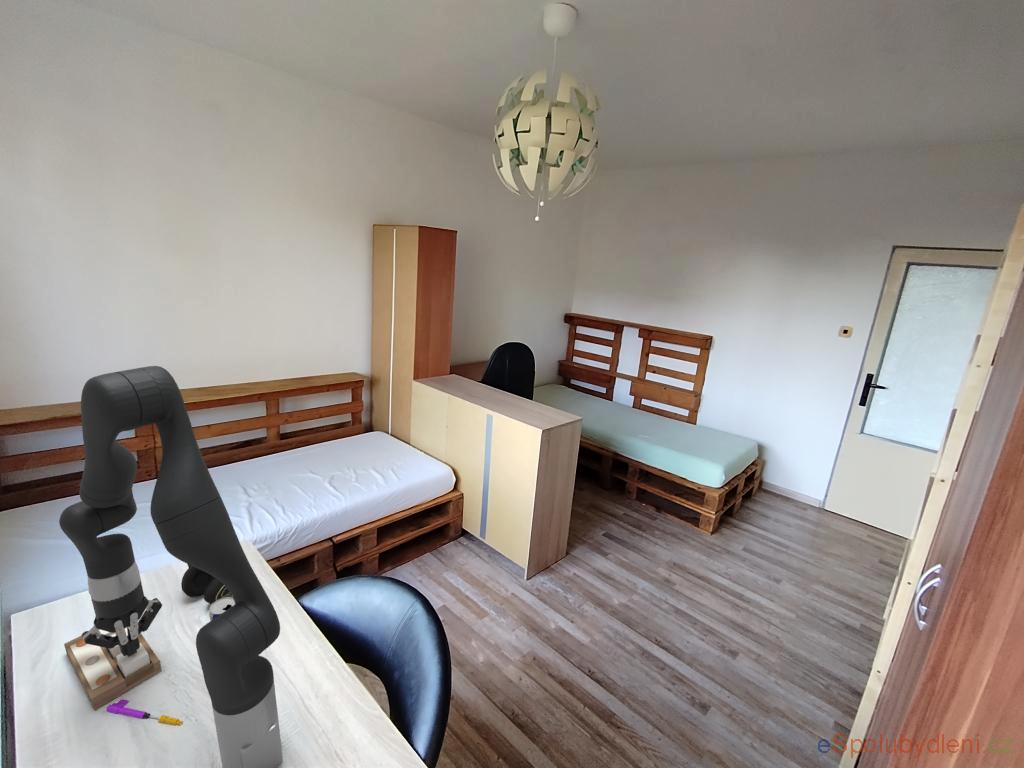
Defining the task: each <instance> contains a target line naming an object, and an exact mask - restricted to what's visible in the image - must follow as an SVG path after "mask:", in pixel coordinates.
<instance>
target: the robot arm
mask: <svg viewBox="0 0 1024 768" xmlns="http://www.w3.org/2000/svg"><path fill="white" fill-rule="evenodd" d="M80 396H81V398H80V415H81V431H82V432H81V433H82V441H83V449H84V450H83V451H84V467H83V472H82V476H81V481H80V486H79V498H80V501H78V502H76V503H73V504H71V505H69V506H67V507H66V508H65V509H64V510H63V511H62V512H61V514H60V517H59V520H58V523H59V528H60V529H61V531H62V532H63V533H64V534H65V535H66V537H67V538H68V539H69V540H70V541H71V542H72V544H73V545H74V546H75V548H77V550H78V552H79V554H80V556H81V557H82V560H83V563H84V567H85V571H86V575H87V586H88V594H89V595H90V599H91V602H92V603H91V604H92V606H93V612H94V614H95V617H94V620H93V626H92V627H91V628H90V629H89V630H86V631H84V632H83V633H82V634H81V635H82V638H83V640H84V641H85V643H86V644H90V645H95V646H100V647H105V648H110V649H111V648H114V647H115V646H116V645H119V647H120V651H121V653H122V654H123V656H126V655H127V656H128V657H129V656H131V655H133V654H135V653H137V649H139V647H140V644H139V640H138V635H139V634H140V633H141V634H142V633H145V632H147V630H149V628H150V626H151V625H152V623H153V622H154V620H155V618H156V617H157V615H158V613H159V611H161V608H162V607H163V603H162V602H161V601H160V600H159V598H157V597H154V598H153V599H148V597H146V596H145V594H144V589H143V584H142V580H141V574H140V569H139V566H138V564H137V561H136V559H135V554H134V550H133V544H132V540H131V539H130V537H129V536H128V535H126V534H124V533H111V534H107V535H102V534H104V533H106V532H109V531H111V530H113V529H116V528H117V527H120V526H122V525H124V524H127V523H128V522H129V521H130V520H132V519H133V518H134V516H135V515H136V513H137V510H138V507H137V503H136V500H135V498H134V494H133V493H134V492H133V486H134V483H135V480H136V477H137V472H138V463H137V459H136V457H135V456H134V454H133V453H132V452H131V451H130V449H128V448H127V447H126V446H124V445H123V444H121V442H119V441H117V437H118V436H119V434H120V433H122V432H129V431H133V430H137V429H140V428H144V427H147V426H151V425H154V424H155V426H156V428H157V431H158V434H159V435H158V436H159V438H160V443H161V448H162V449H161V450H162V452H161V453H162V454H161V462H160V467H159V470H158V474H157V477H156V480H155V485H154V488H153V492H152V496H151V501H150V517H151V520H152V522H153V524H154V527H155V529H156V531H157V533H158V535H159V537H160V539H161V542H162V544H163V546H164V548H165V549H166V551H167V552H168V553H169V554H170V555H171V556H173V557H175V558H176V559H177V560H179V561H180V562H183V563H185V564H189V565H191V566H193V567H195V568H198V569H200V570H202V571H204V572H206V573H208V574H210V575H212V576H214V577H215V578H217V579H218V580H220V581H221V582H222V583H223V584H224V585H225V586H226V587H227V589H228V590H229V592H230V596H231V597H232V598H233V599H234V601H235V605H234V606H232V607H231V608H229V609H228V610H226V611H225V612H223V613H222V614H220V615H219V616H217V617H216V618H215V619H213V620H212V621H210V620H209V621H208V622H207V623H206V624H205V625H203V626H202V627H200V629H199V630H198V632H197V634H196V639H195V647H196V652H197V653H196V654H197V656H198V660H199V664H200V666H201V671H202V675H203V680H204V684H205V686H206V690H207V692H208V695H209V698H210V701H211V706H212V707H211V708H212V713H213V718H214V725H215V732H216V737H217V743H218V748H219V749H218V750H219V755H220V761H221V765H222V768H277V767H278V766H279V765H280V764H281V763H283V761H284V760H283V752H282V751H283V750H282V749H283V748H282V740H281V731H280V722H279V721H280V720H279V713H278V705H277V696H276V685H275V676H274V669H273V665H272V664H271V662H270V660H269V659H268V658H266V657H264V656H261V654H262V653H263V652H264V651H266V650H267V649H268V648H269V647H270V646H271V645H273V644H274V642H276V640H277V639H278V638H279V636H280V633H281V623H280V620H279V616H278V614H277V612H276V611H277V610H275V607H274V605H273V603H272V601H271V600H270V597H269V596H268V594H267V591H266V590H265V589H264V587H263V585H262V584H261V582H260V580H259V578H258V577H257V574H256V573H255V570H254V569H253V567H252V566H251V564H250V562H249V560H248V558H247V556H246V553H245V551H244V549H243V546H242V545H241V541H240V539H239V538H238V536H237V532H236V531H235V528H234V525H233V523H232V520H231V517H230V515H229V511H228V510H227V508H226V505H225V503H224V501H223V498H222V496H221V494H220V492H219V490H218V488H217V486H216V484H215V482H214V480H213V477H212V476H211V473H210V471H209V469H208V466H207V463H206V462H205V461H206V460H204V457H203V454H202V451H201V449H200V447H199V444H198V441H197V438H196V435H195V432H194V428H193V426H192V422H191V420H190V417H189V413H188V410H187V406H186V404H185V400H184V399H183V398H184V397H183V395H182V393H181V390H180V388H179V385H178V383H177V382H176V379H175V378H174V377H173V375H172V374H171V373H170V372H169V371H168V370H167V369H165V368H164V367H162V366H161V365H160V366H158V365H150V366H144V367H138V368H136V367H135V368H130V369H126V370H119V371H114V372H109V373H103V374H99V375H96V376H93V377H90V378H89V379H88V380H86V382H85V383H84V385H83V388H82V391H81V395H80ZM100 535H102V536H100ZM126 627H127V633H128V636H126V632H125V628H126ZM99 629H100V630H104V631H107V632H111V633H115V634H116V636H114V637H112V636H109V635H104V634H101V633H100V631H99Z"/></svg>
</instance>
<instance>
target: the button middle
mask: <svg viewBox="0 0 1024 768" xmlns="http://www.w3.org/2000/svg"><path fill="white" fill-rule="evenodd" d="M125 632H126V636H128V633H127V628H125ZM111 636H112V637H114V636H116V634H113V635H111ZM108 650H109V651H110V653H111V655H112V657H113V658H114V659H115V658H116V656H117V655H119V654H121V651H120V647H119V645H116V646H115V647H114V648H111V649H110V648H108Z"/></svg>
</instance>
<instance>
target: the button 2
mask: <svg viewBox="0 0 1024 768" xmlns="http://www.w3.org/2000/svg"><path fill="white" fill-rule="evenodd" d="M116 658H117V662H118V666H119V668H120V670H121V672H122V673H123V675H124V677H125V678H126V677H128V676H129V675H131V674H133V673H135V672H136V671H138V670H140V669H142V668H143V667H145V666H147V665H149V664H150V660H149V655H148V653H147V651H146V650H145V648H144V647H143V645H142V644H141V643H140V647H139V649H137V653H135V654H133V655H131V656H129V657H128V656H127V655H126V656H123V654H122V653H121V654H119V655H117V656H116Z"/></svg>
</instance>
